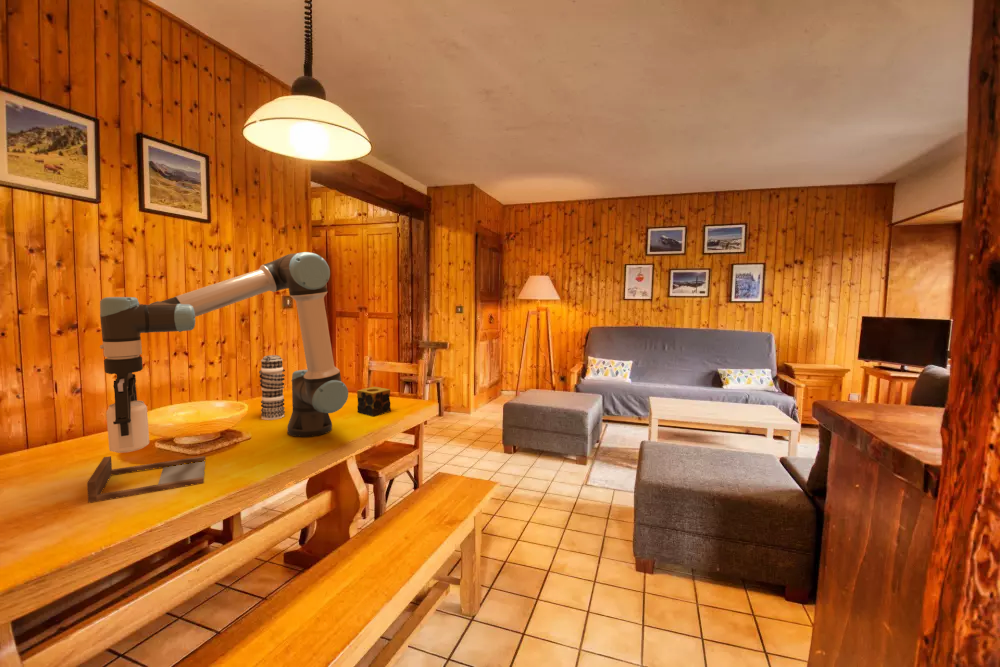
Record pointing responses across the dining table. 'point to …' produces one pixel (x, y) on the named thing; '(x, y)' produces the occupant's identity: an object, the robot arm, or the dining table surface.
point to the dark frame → (169, 475)
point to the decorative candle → (272, 387)
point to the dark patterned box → (373, 401)
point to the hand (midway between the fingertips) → (129, 441)
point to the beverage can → (138, 427)
